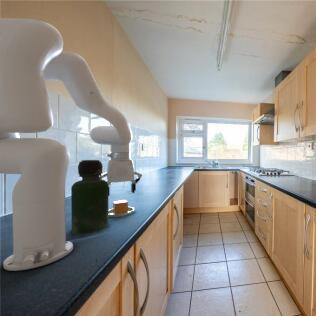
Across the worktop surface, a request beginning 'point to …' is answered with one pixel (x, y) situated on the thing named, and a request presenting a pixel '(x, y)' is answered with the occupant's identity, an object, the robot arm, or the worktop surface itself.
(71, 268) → the worktop surface
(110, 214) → the white plate
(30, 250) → the robot arm
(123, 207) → the cube
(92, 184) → the dark green bottle
